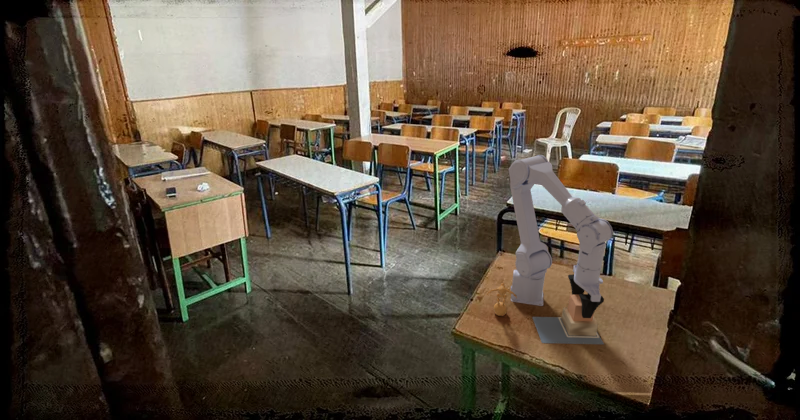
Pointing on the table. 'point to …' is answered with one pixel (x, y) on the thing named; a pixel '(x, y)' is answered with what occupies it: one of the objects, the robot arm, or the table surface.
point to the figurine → (499, 307)
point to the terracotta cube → (576, 309)
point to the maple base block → (578, 325)
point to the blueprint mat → (560, 332)
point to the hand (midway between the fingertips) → (581, 308)
